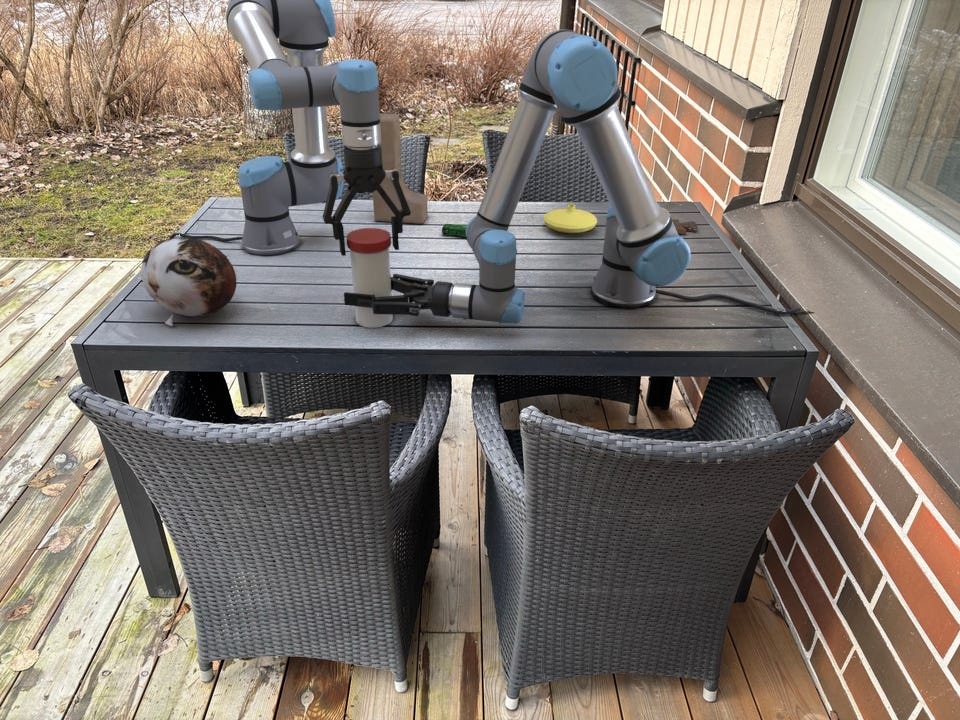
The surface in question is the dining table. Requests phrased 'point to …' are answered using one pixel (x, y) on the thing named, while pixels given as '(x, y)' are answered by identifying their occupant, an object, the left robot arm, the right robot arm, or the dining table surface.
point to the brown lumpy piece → (684, 226)
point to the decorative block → (393, 160)
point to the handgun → (454, 230)
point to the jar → (371, 284)
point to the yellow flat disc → (570, 220)
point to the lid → (368, 240)
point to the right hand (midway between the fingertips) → (352, 289)
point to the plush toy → (188, 277)
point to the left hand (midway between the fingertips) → (369, 250)
